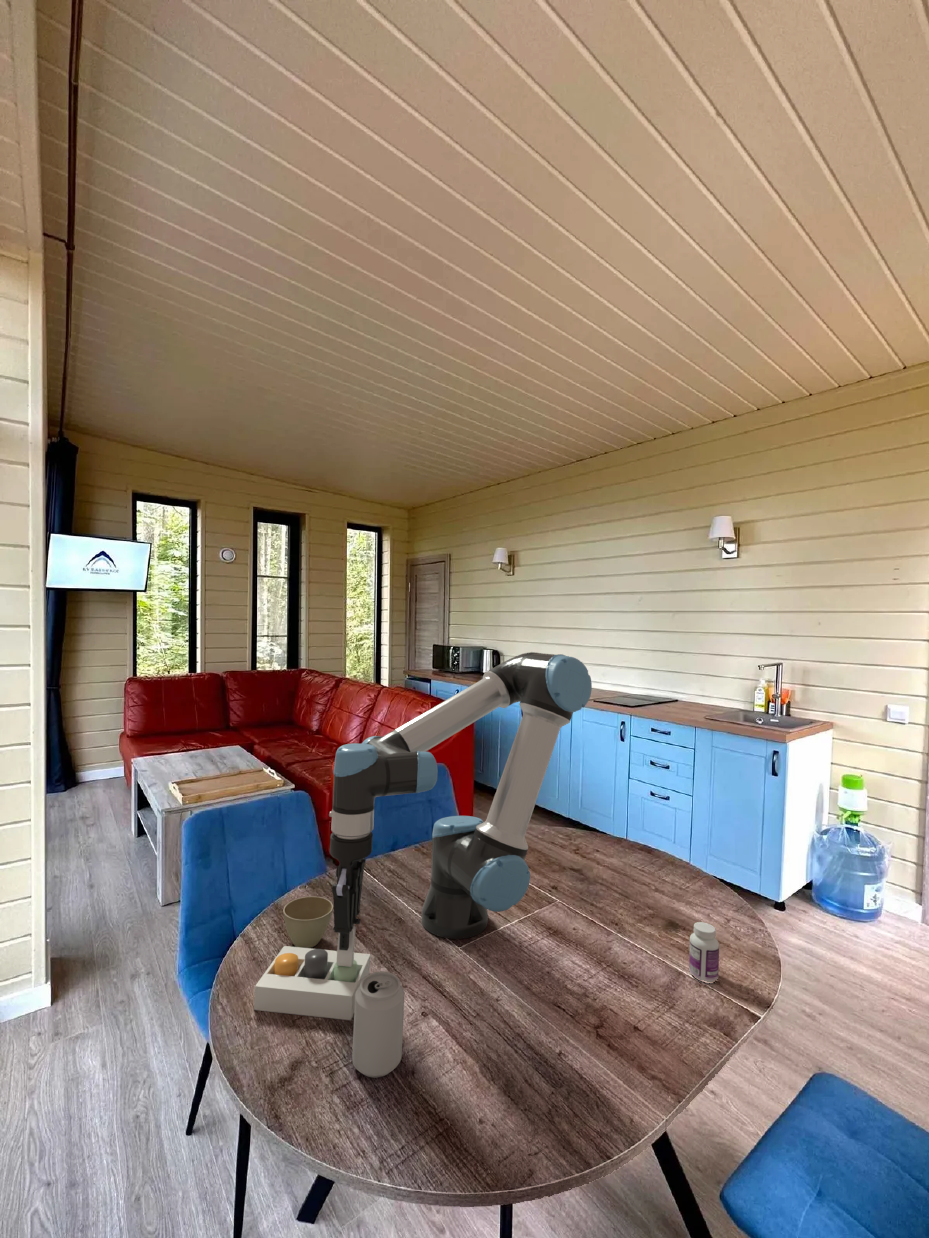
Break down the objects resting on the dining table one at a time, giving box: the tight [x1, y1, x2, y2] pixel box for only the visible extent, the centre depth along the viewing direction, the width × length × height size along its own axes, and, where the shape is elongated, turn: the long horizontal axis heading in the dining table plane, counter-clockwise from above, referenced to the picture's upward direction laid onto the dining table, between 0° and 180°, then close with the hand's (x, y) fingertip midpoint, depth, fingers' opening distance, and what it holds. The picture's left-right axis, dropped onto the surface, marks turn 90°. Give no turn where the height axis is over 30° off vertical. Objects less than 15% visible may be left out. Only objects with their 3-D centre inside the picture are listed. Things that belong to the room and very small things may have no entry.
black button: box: [304, 948, 328, 980], centre depth 99 cm, size 4×4×4 cm
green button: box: [334, 960, 357, 983], centre depth 98 cm, size 4×4×4 cm
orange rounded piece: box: [274, 953, 298, 976], centre depth 99 cm, size 4×4×4 cm
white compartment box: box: [253, 945, 371, 1021], centre depth 99 cm, size 17×12×4 cm
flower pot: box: [282, 895, 334, 949], centre depth 114 cm, size 10×10×7 cm
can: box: [351, 971, 405, 1079], centre depth 83 cm, size 8×8×12 cm
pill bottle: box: [688, 921, 720, 982], centre depth 108 cm, size 5×5×10 cm
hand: (345, 963), depth 98 cm, fingers closed
